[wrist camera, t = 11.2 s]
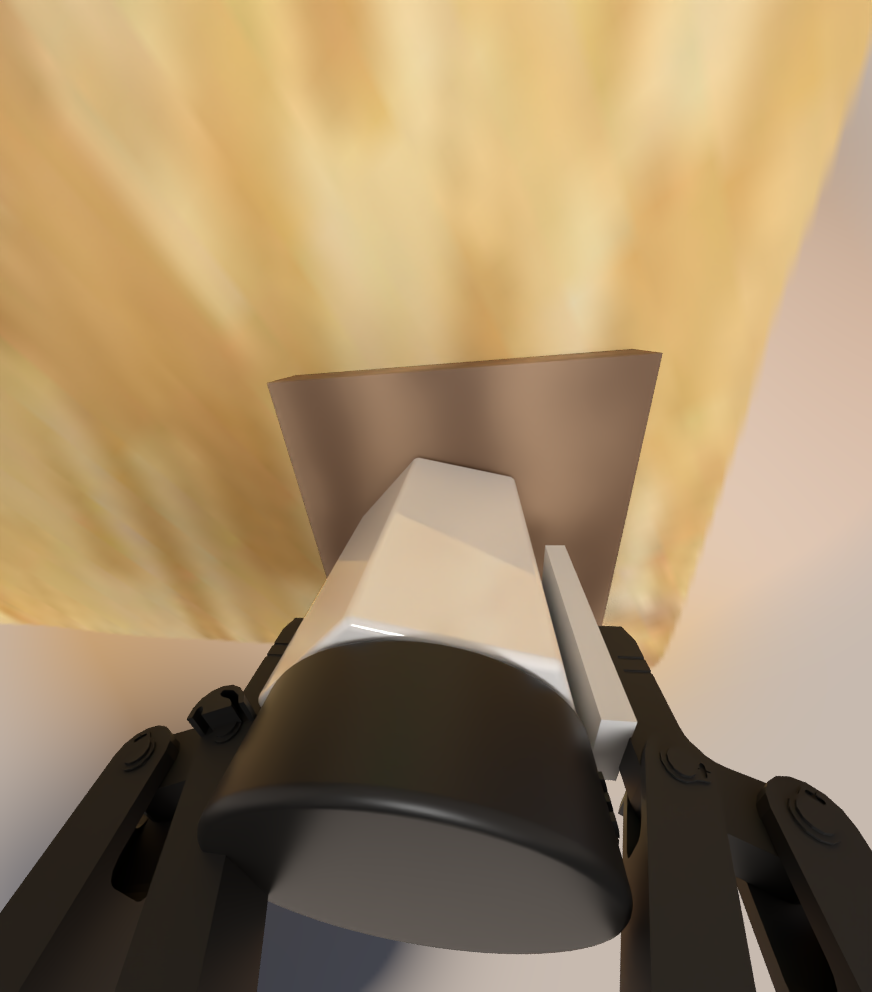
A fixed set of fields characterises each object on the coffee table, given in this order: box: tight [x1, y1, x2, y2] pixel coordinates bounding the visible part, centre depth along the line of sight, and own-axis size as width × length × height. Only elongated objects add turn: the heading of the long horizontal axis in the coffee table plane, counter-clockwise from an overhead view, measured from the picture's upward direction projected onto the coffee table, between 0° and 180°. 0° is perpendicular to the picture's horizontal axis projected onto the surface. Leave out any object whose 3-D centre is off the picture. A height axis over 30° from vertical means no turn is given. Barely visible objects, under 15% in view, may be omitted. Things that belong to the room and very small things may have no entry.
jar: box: [197, 458, 633, 954], centre depth 11 cm, size 9×8×12 cm
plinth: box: [267, 349, 662, 626], centre depth 18 cm, size 16×16×2 cm
